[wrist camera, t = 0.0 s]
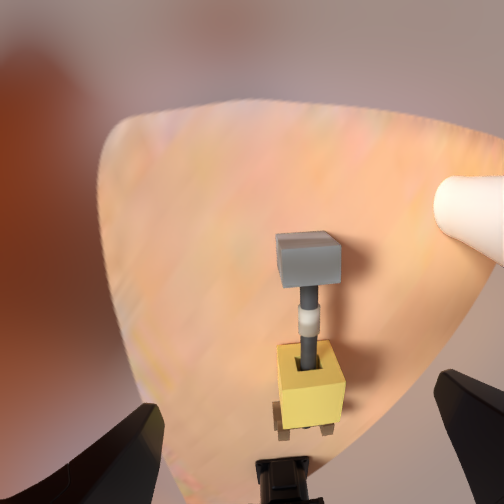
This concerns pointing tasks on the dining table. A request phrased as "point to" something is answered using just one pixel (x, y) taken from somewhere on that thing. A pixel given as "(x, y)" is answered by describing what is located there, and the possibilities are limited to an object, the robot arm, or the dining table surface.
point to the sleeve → (309, 387)
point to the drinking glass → (473, 212)
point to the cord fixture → (307, 295)
